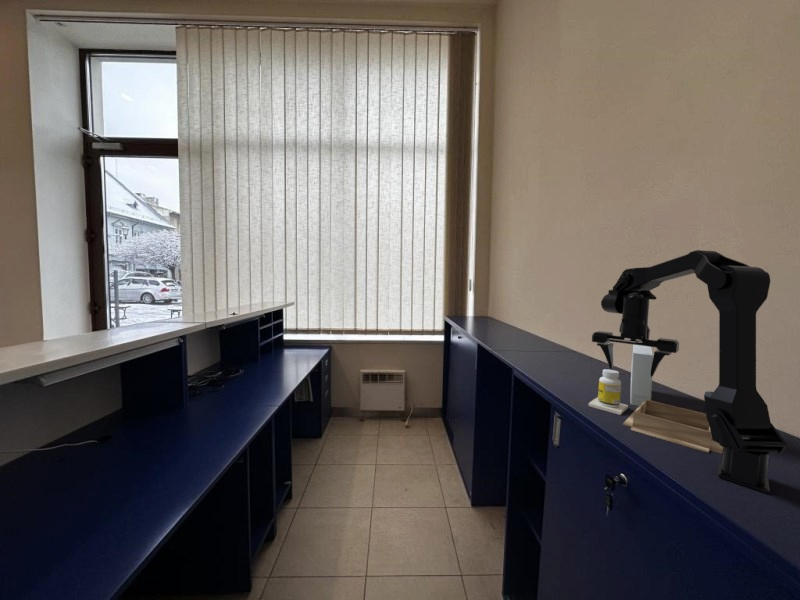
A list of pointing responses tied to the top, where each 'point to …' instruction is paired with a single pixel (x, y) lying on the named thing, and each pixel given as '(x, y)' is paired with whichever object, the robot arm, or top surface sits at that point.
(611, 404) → the supplement bottle
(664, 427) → the light brown piece
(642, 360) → the skincare box
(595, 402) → the tile
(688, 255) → the robot arm
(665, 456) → the top surface
